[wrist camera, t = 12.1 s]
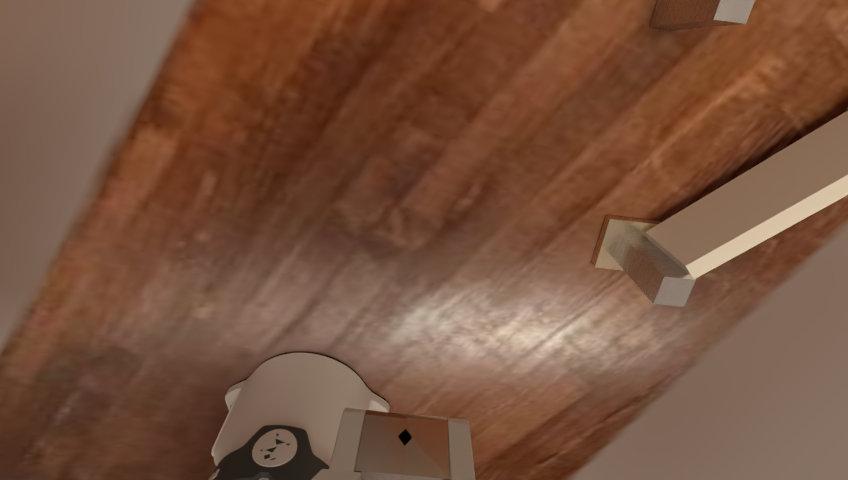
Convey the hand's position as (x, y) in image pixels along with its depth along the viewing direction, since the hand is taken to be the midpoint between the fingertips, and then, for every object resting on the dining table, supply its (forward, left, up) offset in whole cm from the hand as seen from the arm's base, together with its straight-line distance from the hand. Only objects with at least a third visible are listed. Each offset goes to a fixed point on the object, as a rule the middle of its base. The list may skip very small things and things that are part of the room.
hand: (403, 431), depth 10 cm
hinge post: (-6, -20, -29) cm, 36 cm away
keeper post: (+14, -17, -29) cm, 36 cm away
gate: (+2, -28, -28) cm, 39 cm away
